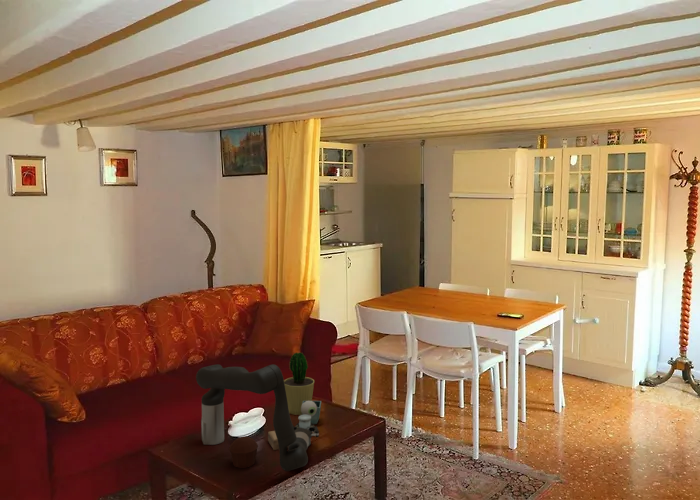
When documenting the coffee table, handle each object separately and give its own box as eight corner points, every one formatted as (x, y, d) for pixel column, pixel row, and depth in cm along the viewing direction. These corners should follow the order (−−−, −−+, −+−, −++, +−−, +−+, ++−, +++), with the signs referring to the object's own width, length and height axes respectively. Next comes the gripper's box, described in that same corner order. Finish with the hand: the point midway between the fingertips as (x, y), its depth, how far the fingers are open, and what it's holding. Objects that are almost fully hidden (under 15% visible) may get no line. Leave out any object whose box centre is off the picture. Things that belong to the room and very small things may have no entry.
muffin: (244, 454, 241) (243, 430, 240) (264, 460, 235) (263, 436, 234) (222, 465, 231) (222, 440, 230) (243, 472, 225) (242, 447, 224)
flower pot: (320, 426, 270) (320, 407, 269) (301, 426, 270) (301, 407, 269) (321, 419, 279) (321, 400, 278) (303, 418, 279) (302, 400, 278)
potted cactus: (319, 407, 294) (319, 348, 292) (306, 418, 280) (306, 356, 277) (292, 403, 300) (291, 346, 297) (277, 413, 285) (277, 353, 283)
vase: (300, 447, 247) (300, 420, 246) (297, 442, 252) (296, 415, 251) (312, 445, 249) (312, 418, 248) (309, 440, 254) (308, 413, 253)
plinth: (273, 450, 244) (273, 440, 244) (268, 440, 254) (267, 431, 253) (296, 446, 248) (296, 436, 248) (290, 437, 257) (290, 428, 257)
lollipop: (304, 438, 257) (304, 404, 255) (298, 432, 263) (298, 399, 262) (319, 434, 260) (319, 402, 259) (313, 429, 266) (312, 397, 265)
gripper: (317, 432, 235) (322, 416, 252) (282, 431, 236) (289, 415, 253) (317, 450, 235) (322, 433, 252) (282, 449, 236) (289, 432, 253)
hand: (305, 424), depth 252 cm, fingers closed on vase, 4 cm apart
